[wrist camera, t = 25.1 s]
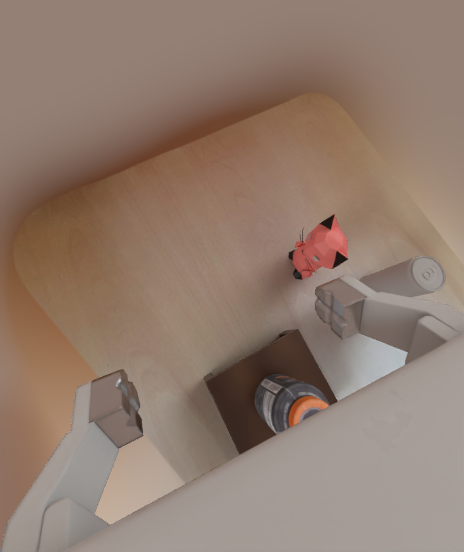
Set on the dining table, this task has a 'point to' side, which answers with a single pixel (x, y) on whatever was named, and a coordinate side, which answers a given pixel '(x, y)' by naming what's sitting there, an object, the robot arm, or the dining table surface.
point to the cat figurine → (320, 249)
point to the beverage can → (408, 278)
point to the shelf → (246, 377)
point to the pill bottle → (287, 401)
